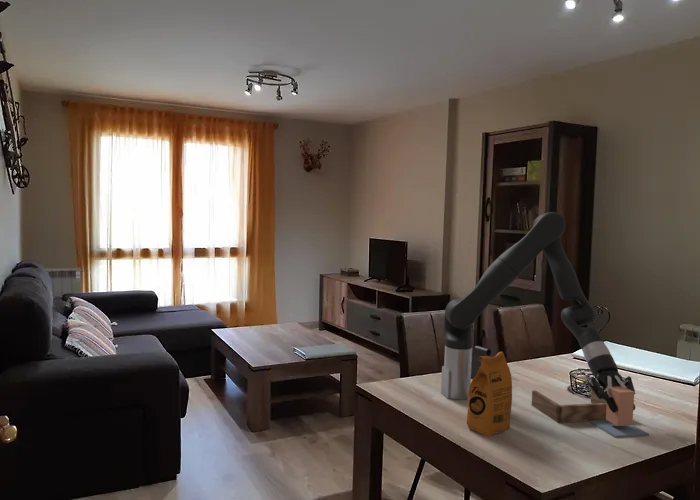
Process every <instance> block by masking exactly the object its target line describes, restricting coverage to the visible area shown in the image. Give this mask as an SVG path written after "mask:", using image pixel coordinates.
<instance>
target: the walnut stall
mask: <svg viewBox="0 0 700 500" xmlns="http://www.w3.org/2000/svg"><path fill="white" fill-rule="evenodd" d="M599 393H600V392H599ZM600 394H601V393H600ZM531 406H532V407H533V408H534V409H537V411H539V412H541V413H542V414H544V415H545V416H547V417H548V418H550V419H552V420H553V421H554V422H556V423H558V424H560V423H563V424H564V423H575V422H576V423H577V422H578V423H579V422H590V421H595V420H606V407H607V402H606V401H605V400H604V399H599V398H598V397H597V395H596V394H595V393H594V391H593V390H592V388H591V392H590V403H574V404H573V403H572V404H559V403H557V402H555V401H554V400H552V399H551V398H549V397H548V396H545V395H544V394H542V393H541V392H539V391H537V390H535V389H534V390H531Z"/></svg>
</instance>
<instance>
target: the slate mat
mask: <svg viewBox="0 0 700 500" xmlns="http://www.w3.org/2000/svg"><path fill="white" fill-rule="evenodd" d="M589 423H590V424H592V425H593V426H595V427H596V428H598V429H600V430H602V431H603V432H605V433H607V434H608V435H610V436H612V437H613V438H616V439H618V438H631V437H645V436H646V437H648V436H650V433H649V432H647V431H645V430H643V429H642V428H639V426H638V427H637V426H635V424H632V425H625V426H617V425H615V424H613V423H611V422H610V421H608V420H595V421H589Z"/></svg>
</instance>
